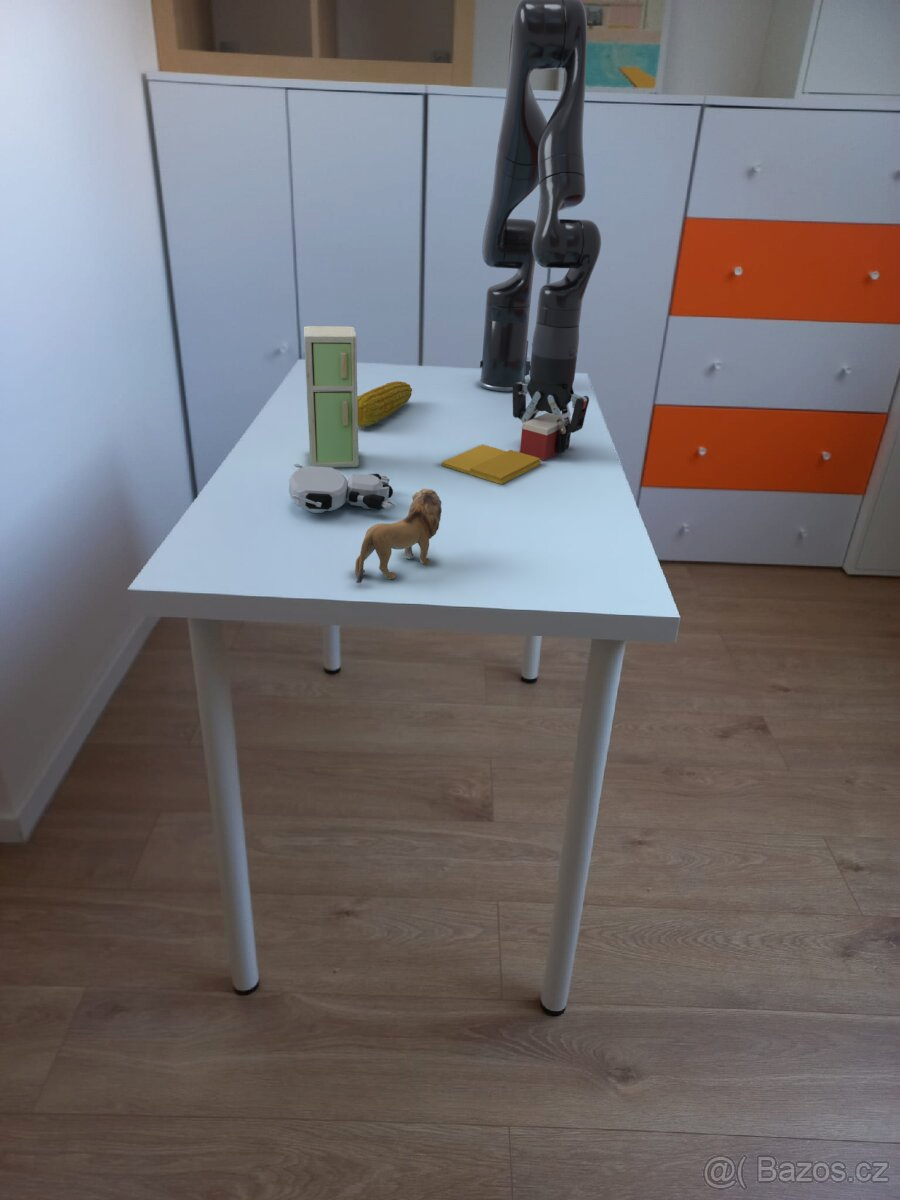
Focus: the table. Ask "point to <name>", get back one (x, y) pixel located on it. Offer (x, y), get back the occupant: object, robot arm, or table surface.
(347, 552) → the table surface
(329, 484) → the robot toy
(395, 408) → the food
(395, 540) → the lion figurine
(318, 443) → the toy refrigerator
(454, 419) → the table surface
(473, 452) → the cloth
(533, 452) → the toy cooler box
